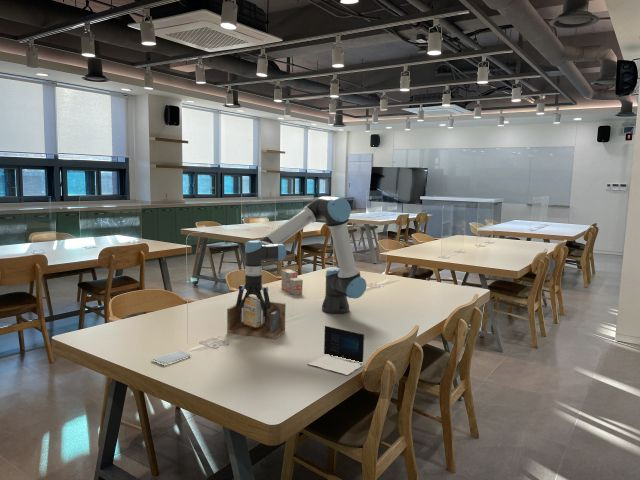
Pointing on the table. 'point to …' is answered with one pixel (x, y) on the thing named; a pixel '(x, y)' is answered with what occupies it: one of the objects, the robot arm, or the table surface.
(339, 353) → the laptop
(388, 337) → the table surface
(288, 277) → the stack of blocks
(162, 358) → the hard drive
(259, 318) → the supplement box
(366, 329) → the table surface
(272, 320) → the small wooden side table
